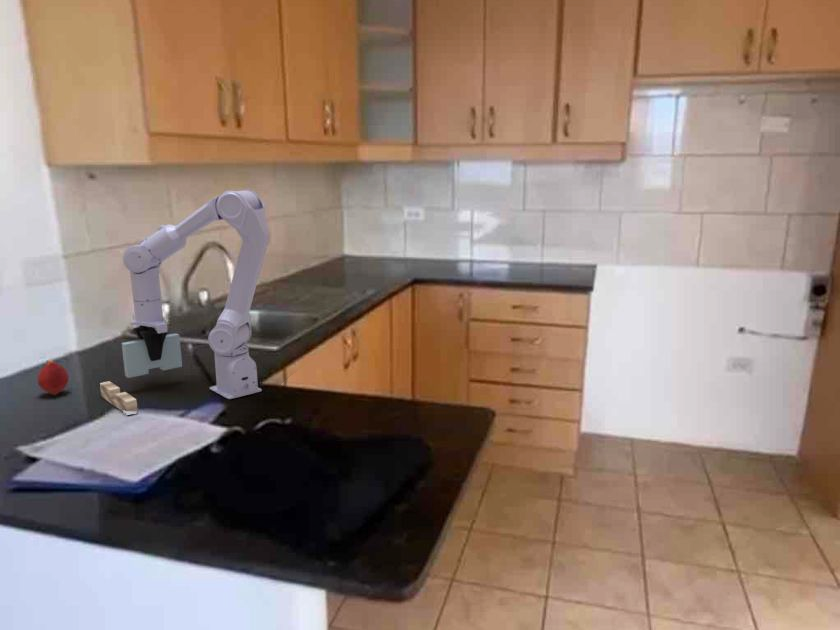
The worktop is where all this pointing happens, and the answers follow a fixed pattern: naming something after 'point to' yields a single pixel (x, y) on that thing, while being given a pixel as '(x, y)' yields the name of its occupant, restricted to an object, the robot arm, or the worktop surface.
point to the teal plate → (140, 362)
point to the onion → (53, 378)
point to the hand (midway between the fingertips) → (153, 358)
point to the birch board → (118, 397)
